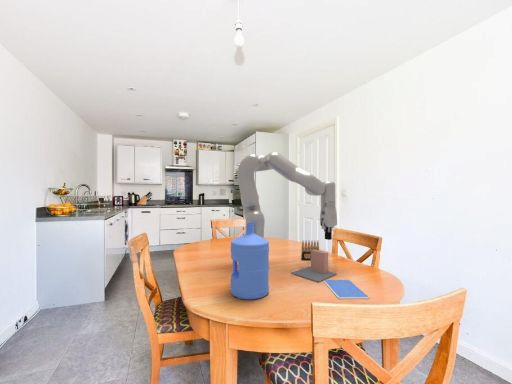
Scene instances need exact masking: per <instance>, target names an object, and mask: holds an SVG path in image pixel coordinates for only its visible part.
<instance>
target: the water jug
mask: <svg viewBox="0 0 512 384" xmlns="http://www.w3.org/2000/svg"><path fill="white" fill-rule="evenodd" d="M246 225H247V227H246ZM269 253H270V245H269V240H268V239H266V238H265V237H264V238H262V237H260V236H258V235H256V234H254V223H246V222H245V233H244V234H242V235H240V236H238V237H236V238H234V239H232V240H231V242H230V259H231V260H232V272H231V274H230V289H229V290H230V294H231V295H232V296H234V297H235V298H238V299H240V300H257V299H262V298H264V297H265V296H267V295H268V294H269V291H270V289H269V287H270V285H269V276H270V275H269V273H270V265H269V263H270V262H269V258H270V255H269ZM238 266H239V269H238Z"/></svg>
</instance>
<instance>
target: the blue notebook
mask: <svg viewBox="0 0 512 384" xmlns="http://www.w3.org/2000/svg"><path fill="white" fill-rule="evenodd" d="M323 283H324V284H325V285H326V286H327V288H329V290H330V291H331V292H332V294H333V295H334V296H335V297H336V298H337V299H338V300H370V296H369V295H368V294H366V293H365V292H364V291H363V290H362V289H360V288H359V287H358V286H357V285H356V284H355V283H354V282H352V281H351V280H349V279H326V280H324V281H323Z"/></svg>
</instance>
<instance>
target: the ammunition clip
mask: <svg viewBox="0 0 512 384" xmlns="http://www.w3.org/2000/svg"><path fill="white" fill-rule="evenodd" d="M314 249H315V250H320V244H319V239H317V241H316V240H314V241H313V240H311V241H310V240H308V241H307V240H305V242H304V240H302V243H301V254H300V255H301V256H300V260H301V261H304V262H305V261H310V262H311V250H314Z"/></svg>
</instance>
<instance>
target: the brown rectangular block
mask: <svg viewBox="0 0 512 384" xmlns="http://www.w3.org/2000/svg"><path fill="white" fill-rule="evenodd" d="M310 251H311V261H310V266H311V270H313V271H317V272H320V273H324V274H325V273H327V272H328V271H329V252H328V251H324V250H320V249H319V250H315V249H314V250H311V249H310Z"/></svg>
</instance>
